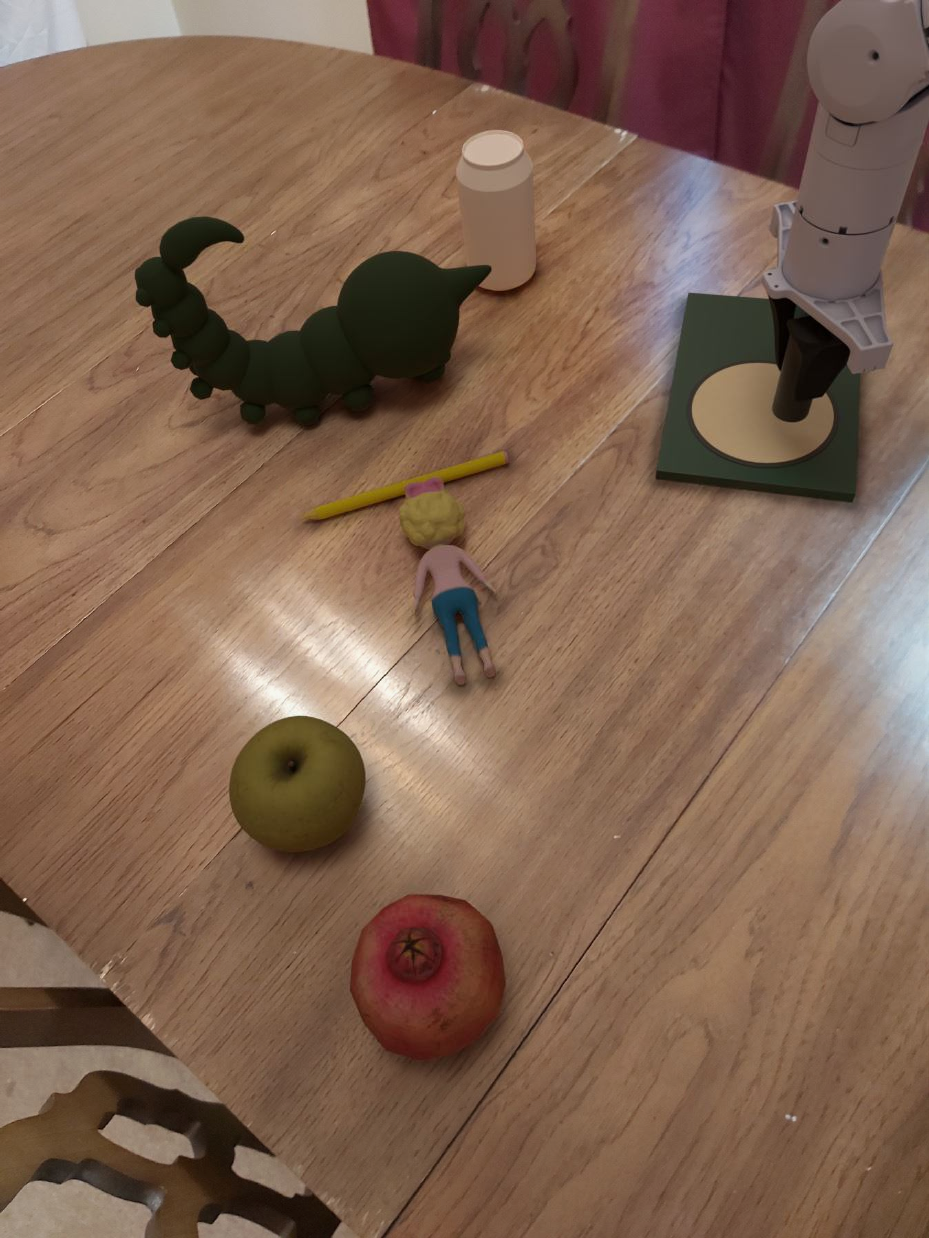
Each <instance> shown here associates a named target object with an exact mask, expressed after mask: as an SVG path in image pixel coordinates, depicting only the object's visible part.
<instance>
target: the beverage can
mask: <svg viewBox="0 0 929 1238" xmlns="http://www.w3.org/2000/svg"><path fill="white" fill-rule="evenodd" d="M524 145H525V144H524V141H523V140H522V138H521V137H520V136H519V135H518V134H516V133H515V132H511V131H508V130H504V129H492V130H491V129H490V130H485V131H482V132H478V133H476V134H473V135H472V136H471V137H469V138H468V139H467V140H466V141H464V144H463V145H462V148H461V153H462V154H461V157H460V159H459V160H458V163H457V165H456V170H455V176H456V184H457V185H456V186H457V194H458V203H459V213H460V221H461V231H462V239H463V248H464V256H465V267H467V266H476V265H489V266H491V268H492V271H491V273H490V274H489V275H488V276H487V277H486V279H485V280H484V281H483V282H482V283H481V284H480V285H479V286H478V287H480V288H482V289H484V290H489V291H495V292H504V291H505V292H506V291H510V290H512V289H513V290H514V289H515V288H518V287H520V286H522V285H523V284H526V283H527V282H528V281H529V280H530V279H531V278H532V277H533V275H534V273H535V271H536V268H537V267H536V266H537V246H536V245H537V244H536V222H535V221H536V218H535V217H536V216H535V190H534V189H535V187H534V164H533V161H532V159H531V157H530V155H529V154H528V152H527V150H526V149H525V147H524Z"/></svg>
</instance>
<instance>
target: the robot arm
mask: <svg viewBox="0 0 929 1238" xmlns="http://www.w3.org/2000/svg"><path fill="white" fill-rule="evenodd" d="M806 68H807V76H808V80H809V83H810V87H811V90H812V91H813V94H814V95H815V97H816V99H817V101H818V103H817V108H816V112H815V117H814V120H813V121H814V122H813V127H812V130H811V133H810V139H809V143H808V148H807V153H806V157H805V161H804V166H803V171H802V175H801V179H800V184H799V188H798V193H797V198H796V200H791V201H785V202H780V203H776V204H774V205H773V207H772V214H771V219H770V223H769V233H771V236H772V237H774V239H777V243H776V245H777V247H776V248H777V249H776V267H774V268H771V269H768V270H765V271H764V272H763V274H762V278H761V284H762V286H763V288H764V290H765V292H766V294H767V297H768V298H767V299H769V301H770V305H771V310H772V316H773V323H774V338H775V358H776V364H777V367H778V369H779V371H781V368H782V364H783V360H784V356H785V352H786V348H787V344H788V340H789V336H790V335H791V338H792V343H793V350H794V365H793V373H792V380H791V392H792V396H793V398H794V400H795V401H796V402H800V401H805V400H810V399H815V398H820V397H823V395H824V394H825V393H826V391H827V390H828V388H829V387H830V386H831V384H832V383H833V381H834V380H835V379H836V377H837V376H838V375H839V373H840V372H841V371H842V369H843V368H844V367H845V366H846V365H847V366H848V367H849V369H850V371H851V373H852V374H857V373H860V374H862V373H869V372H873V371H878V370H883V369H885V368H886V365H887V363H888V360H889V357H890V355H891V352H892V350H893V346H894V342H893V340H892V338H891V336H890V334H889V331H888V329H887V321H886V320H887V319H886V309H885V296H884V285H883V284H884V283H883V281H884V280H883V270H882V267H883V263H884V260H885V256H886V254H887V250H888V248H889V245H890V242H891V239H892V235H893V232H894V229H895V227H896V224H897V221H898V218H899V215H900V211H901V208H902V205H903V202H904V199H905V196H906V192H907V190H908V188H909V187H908V186H909V184H910V180H911V178H912V174H913V171H914V168H915V165H916V163H917V159H918V156H919V152H920V150H921V147H922V144H923V141H924V138H925V135H926V130H927V127H928V124H929V0H839V2H837V3H836V4H835V5H834V6H833V7H832V8H831V9H830V10H828V11H827V12H826V13H825V14H824V15H823V16H822V17H821V19H820V20H818V22H817V24H816V25H815V27H814V30H813V31H812V34H811V36H810V38H809V43H808V47H807V54H806ZM796 304H797V305H798V306H799V307H800V308H802V309H803V310H804V311H805V312H807V313H808V314H809V315H810V316H806V317H801V318H795V319H794V312H795V308H796Z"/></svg>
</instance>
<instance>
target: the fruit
mask: <svg viewBox="0 0 929 1238" xmlns="http://www.w3.org/2000/svg"><path fill="white" fill-rule="evenodd" d="M350 968H351V969H350V979H349V992H350V994H351V997H352V999H353V1001H354V1004H355V1006H356V1009H357V1011H358V1014H359V1016H360V1019H361V1021H362V1023H363V1025H364V1026H365V1027H366V1028H367V1030H368V1031H369V1032H370V1033H371V1035H372V1036H373V1037H374V1038H375V1039H376V1040H377V1042H378V1043H379V1045H381V1047H382V1048H383V1049H384V1050H385V1051H386V1052H388V1053H391V1054H396V1055H399V1056H403V1057H406V1058H409V1059H413V1060H417V1061H419V1062H423V1061H429V1060H433V1059H438V1058H441V1057H445V1056H451V1055H454V1054H456V1053H457V1052H458V1051H460V1050H462V1049H464V1048H465V1047H467V1046H468V1045H470V1044H472V1043H473V1042H475V1041H477V1040H479V1038H480V1037H481V1036H482V1034H483V1033H484V1032H485V1031H486V1030H487V1029H488V1028H489V1026H490V1025H492V1023H493V1022H494V1021H495V1019H496V1018H497V1017H498V1016H499V1014H500V1011H501V1006H502V1003H503V998H504V993H505V989H506V984H507V982H506V974H505V965H504V957H503V954H502V952H501V947H500V944H499V941H498V937H497V934H496V930H495V928H494V925H493V924H492V922H491V921H490V920H489V919H488V918H487V917H485V916H484V915H483V914H482V913H481V912H480V911H479V910H478V909H477V908H475V907H474V906H473V905H472V904H471V903H470V902H469V901H467V900H466V899H463V898H458V897H452V896H448V895H444V894H415V893H414V894H406V895H404V896H402V897H400V898H399V899H396V900H395V901H393V902H391V903H389V904H387V905H386V906H384V907H383V908H381V909H380V911H378V913H376V914H375V915H374V916H373V917H372V918H371V919H370V920H369V922H367V923H366V924H365V926H363V927H362V928H361V930H360V934H359V937H358V940H357V943H356V947H355V949H354V953H353V956H352V958H351V967H350Z"/></svg>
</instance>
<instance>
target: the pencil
mask: <svg viewBox="0 0 929 1238" xmlns="http://www.w3.org/2000/svg"><path fill="white" fill-rule="evenodd" d="M509 463H510V457H509V455H508V452H507V450H502V451H499V452H495V453H493V454H489V455H486V456H483V457H478V458H476V459H472V460H469V461H465V462H462V463H459V464H456V465H452V466H448V467H445V468H442V469H439V470H436V471H432V472H429V473H426V474H422V475H419V476H415V477H412V478H409V479H405V480H401V481H399V482H394V483H392V484H389V485H385V486H381V487H379V488H375V489H372V490H368V491H365V492H362V493H358V494H354V495H351V496H349V497H345V498H342V499H339V500H336V501H331V502H329V503H328V502H327V503H326V504H322V505H318V506H315V507H313V508H312V509H311V510H309V511H307V512H306V513H305V514H303V515H302V516H301V517H299V518H298V520H319V521H320V520H323V519H327V518H331V517H333V516H337V515H340V514H343V513H347V512H350V511H353V510H357V509H361V508H363V507H367V506H371V505H374V504H377V503H380V502H383V501H387V500H391V499H393V498H397V497H400V496H405V490H404V489H405V486H406V485H407V484H409V483H414V482H420V483H421V482H425V481H426V480H428V479H430V478H434V477H440V478H441V479H442V481H443V484H444V483H446V482H450V481H453V480H457V479H460V478H464V477H467V476H470V475H474V474H477V473H481V472H483V471H487V470H491V469H493V468H497V467H500V466H503V465H507V464H509Z"/></svg>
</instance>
